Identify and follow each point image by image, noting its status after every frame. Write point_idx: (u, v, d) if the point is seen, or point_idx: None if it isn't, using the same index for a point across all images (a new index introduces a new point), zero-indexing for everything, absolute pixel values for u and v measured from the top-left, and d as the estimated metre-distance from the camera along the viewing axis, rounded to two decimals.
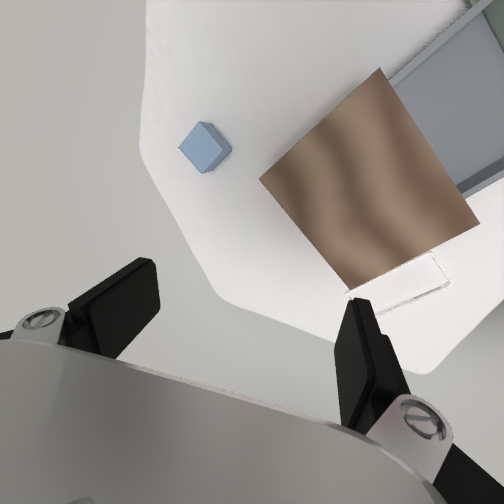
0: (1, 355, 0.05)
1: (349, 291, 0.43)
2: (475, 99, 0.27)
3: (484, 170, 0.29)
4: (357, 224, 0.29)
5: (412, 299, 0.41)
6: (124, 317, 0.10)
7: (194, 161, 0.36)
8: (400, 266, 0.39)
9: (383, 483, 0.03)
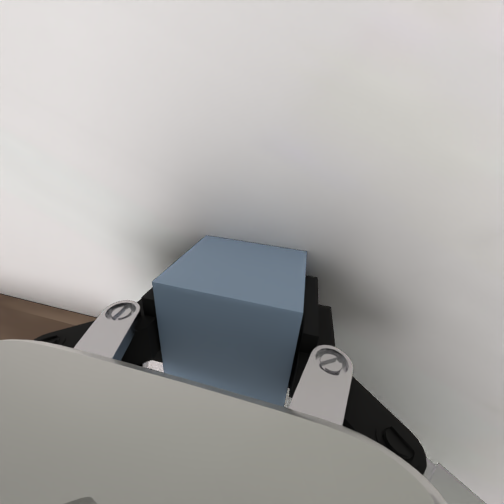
0: (1, 355, 0.05)
1: None
2: None
3: None
4: None
5: None
6: None
7: (209, 306, 0.08)
8: None
9: (383, 483, 0.03)
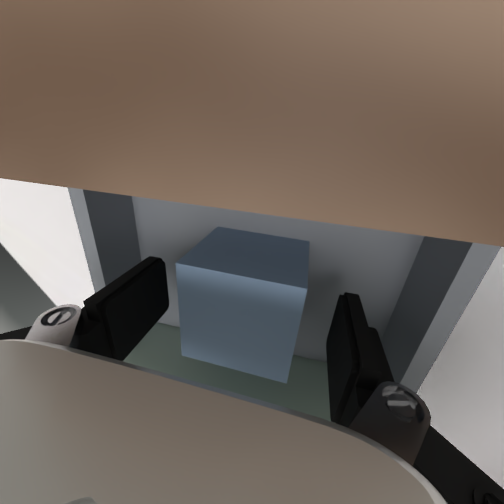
0: (1, 355, 0.05)
1: None
2: None
3: (132, 244, 0.14)
4: None
5: None
6: (136, 314, 0.10)
7: (225, 284, 0.09)
8: None
9: (383, 483, 0.03)
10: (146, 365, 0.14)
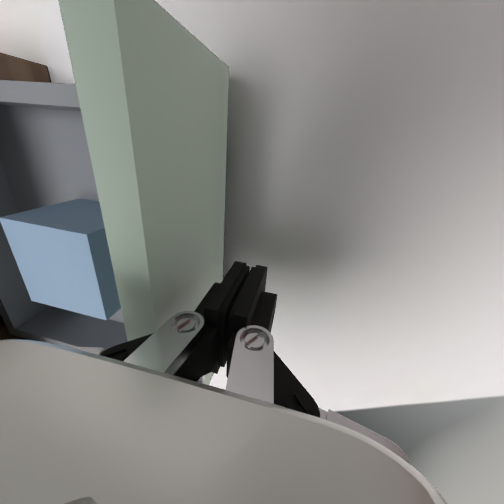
0: (1, 355, 0.05)
1: None
2: None
3: (121, 328, 0.19)
4: None
5: None
6: None
7: (27, 272, 0.13)
8: None
9: (383, 483, 0.03)
10: None
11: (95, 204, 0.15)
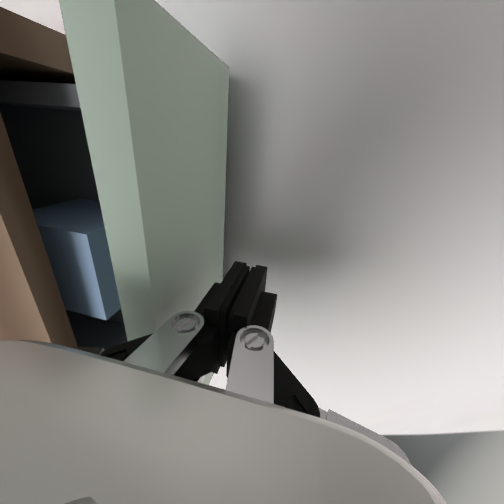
0: (1, 355, 0.05)
1: None
2: None
3: (121, 328, 0.19)
4: None
5: None
6: None
7: None
8: None
9: (383, 483, 0.03)
10: None
11: (95, 204, 0.15)
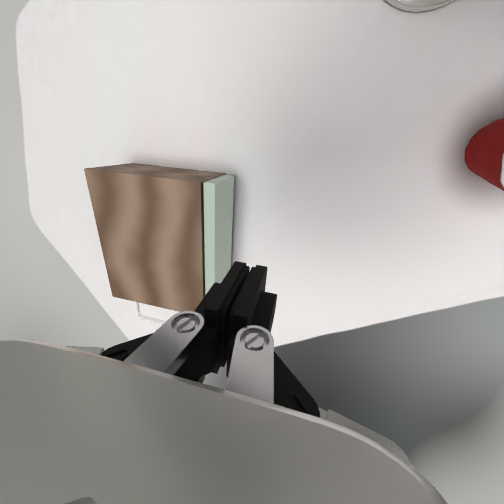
0: (1, 355, 0.05)
1: None
2: None
3: None
4: (138, 261, 0.35)
5: None
6: None
7: None
8: None
9: (383, 483, 0.03)
10: None
11: None
